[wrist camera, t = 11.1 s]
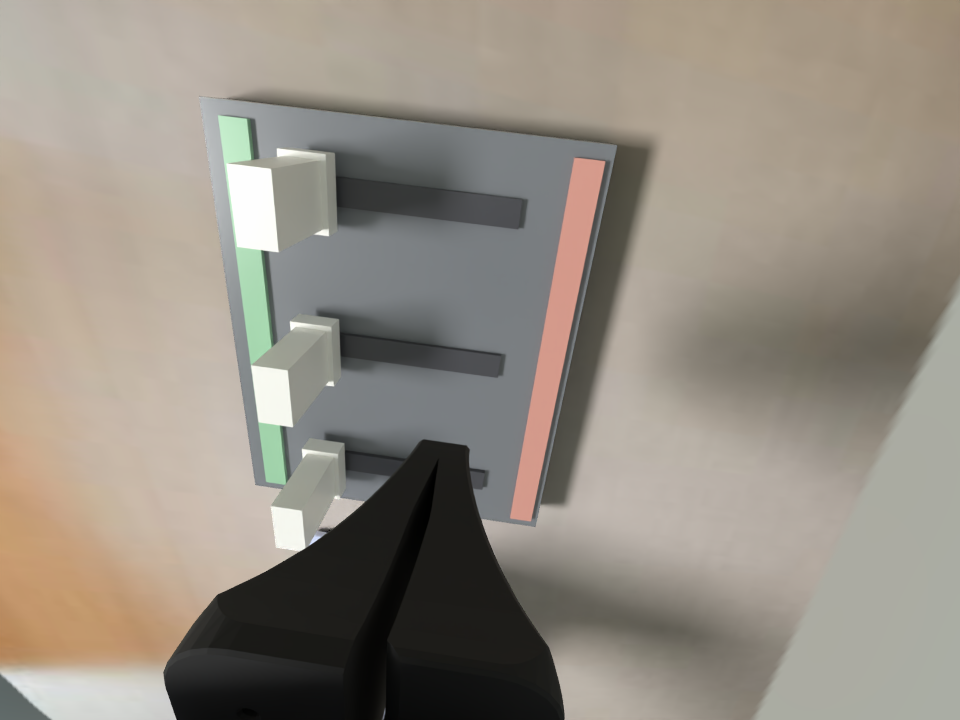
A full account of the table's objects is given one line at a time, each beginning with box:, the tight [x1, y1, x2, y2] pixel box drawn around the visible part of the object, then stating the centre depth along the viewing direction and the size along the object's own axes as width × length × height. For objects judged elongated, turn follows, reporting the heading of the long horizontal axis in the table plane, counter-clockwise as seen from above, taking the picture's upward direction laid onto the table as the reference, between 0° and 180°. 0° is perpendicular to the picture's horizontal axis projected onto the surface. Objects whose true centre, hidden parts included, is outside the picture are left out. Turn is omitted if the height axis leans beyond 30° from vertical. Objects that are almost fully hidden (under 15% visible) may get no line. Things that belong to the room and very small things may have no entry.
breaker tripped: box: [251, 314, 341, 427], centre depth 17 cm, size 3×2×4 cm, turn 174°
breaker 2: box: [271, 438, 346, 551], centre depth 20 cm, size 3×2×4 cm, turn 174°
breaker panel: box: [199, 96, 617, 527], centre depth 20 cm, size 17×14×2 cm
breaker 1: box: [226, 147, 337, 252], centre depth 15 cm, size 3×2×4 cm, turn 174°
